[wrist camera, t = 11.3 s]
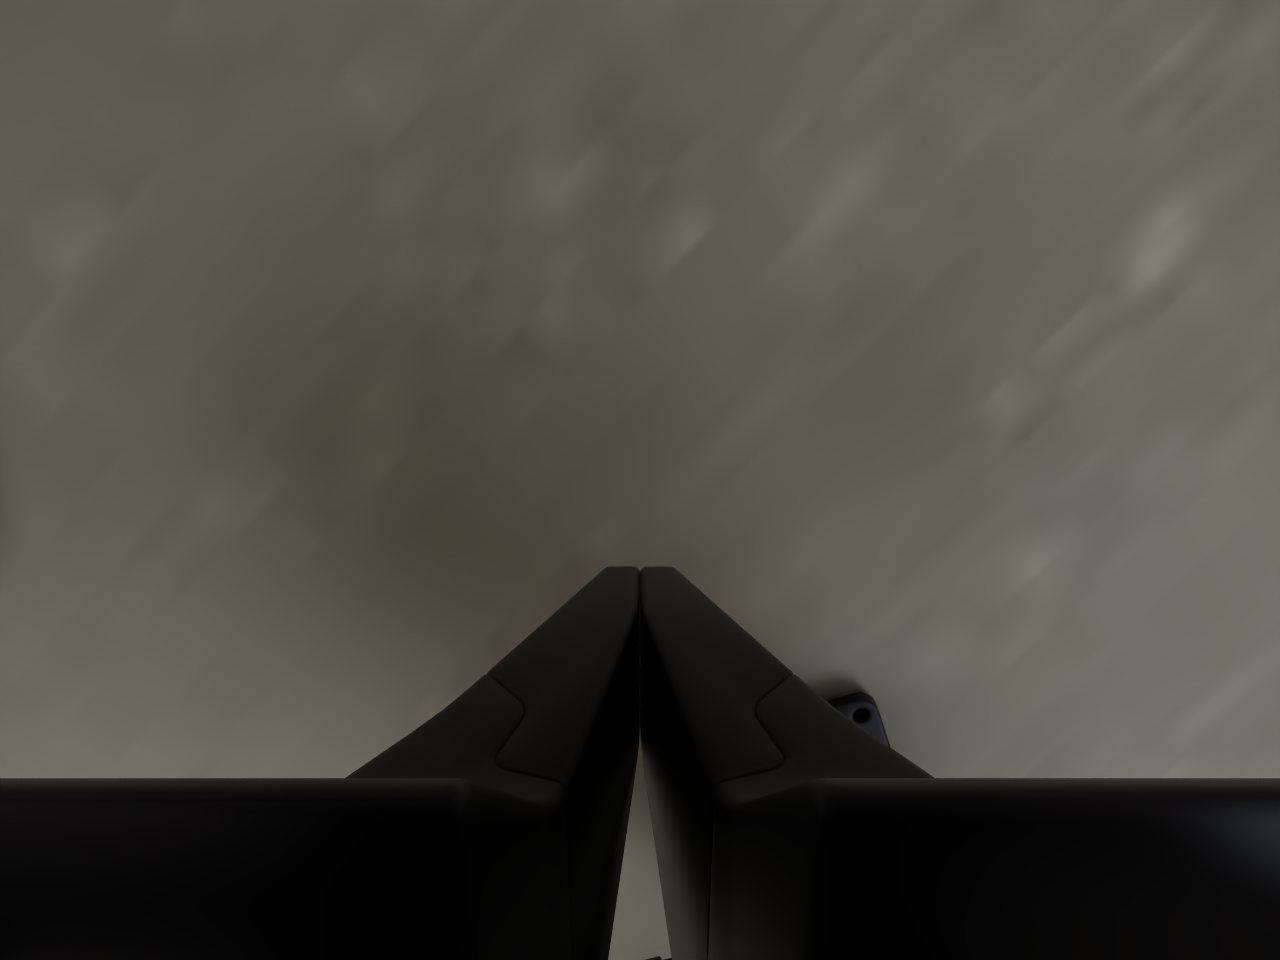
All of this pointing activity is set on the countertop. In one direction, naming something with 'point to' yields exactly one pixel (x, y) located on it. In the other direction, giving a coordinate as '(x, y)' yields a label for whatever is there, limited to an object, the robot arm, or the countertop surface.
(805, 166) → the countertop surface
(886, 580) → the countertop surface
